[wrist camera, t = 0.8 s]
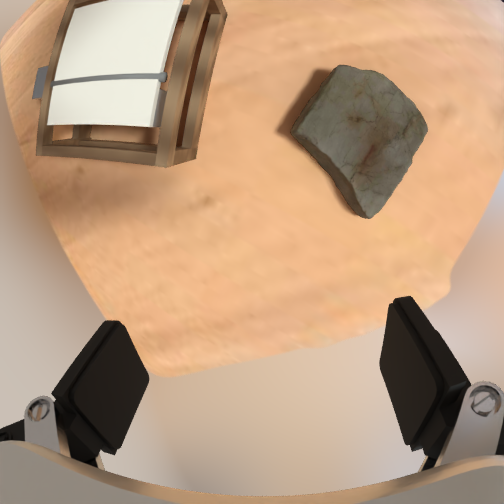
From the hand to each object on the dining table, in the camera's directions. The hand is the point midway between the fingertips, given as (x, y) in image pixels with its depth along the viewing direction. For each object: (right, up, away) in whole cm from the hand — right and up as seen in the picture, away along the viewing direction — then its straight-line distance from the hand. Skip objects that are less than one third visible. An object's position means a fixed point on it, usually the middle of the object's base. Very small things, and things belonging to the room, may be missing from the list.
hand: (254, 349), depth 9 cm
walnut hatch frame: (-14, +26, +21) cm, 36 cm away
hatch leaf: (-15, +25, +15) cm, 32 cm away
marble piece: (+13, +18, +23) cm, 32 cm away
